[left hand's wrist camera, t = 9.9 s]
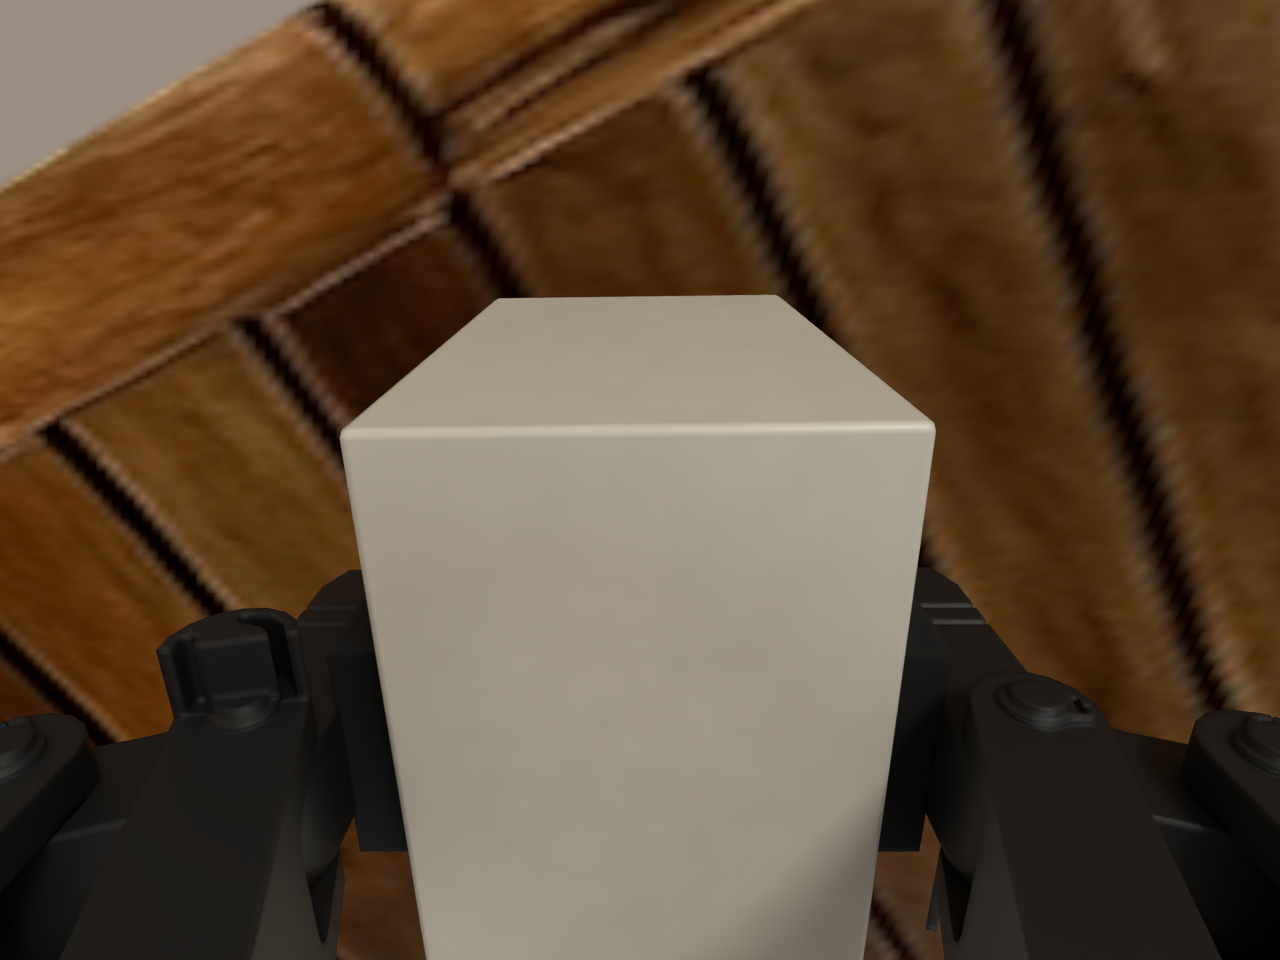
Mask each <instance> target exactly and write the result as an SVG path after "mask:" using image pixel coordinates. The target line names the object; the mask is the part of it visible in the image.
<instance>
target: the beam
mask: <svg viewBox="0 0 1280 960" xmlns="http://www.w3.org/2000/svg"><path fill="white" fill-rule="evenodd" d="M935 433H936V429H935V426H934V422H932V421H931V420H930V419H929V418H927V417H926V416H925V415H924V414H922V413H921V412H920V411H919V410H918V409H916V408H915V407H914V406H913V405H911V404H910V403H909V402H908V401H907V400H905V399H904V398H903V397H902V396H900V395H899V394H898V393H897V392H895V391H894V390H893V389H892V388H891V387H889V386H888V385H887V384H886V383H884V382H883V381H882V380H881V379H879V378H878V377H877V376H876V375H875V374H873V373H872V372H871V371H870V370H868V369H867V368H866V367H865V366H863V365H862V364H861V363H860V362H859V361H857V360H856V359H855V358H854V357H852V356H851V355H850V354H849V353H847V352H846V351H845V350H844V349H843V348H841V347H840V346H839V345H838V344H836V343H835V342H834V341H833V340H831V339H830V338H829V337H828V336H827V335H825V334H824V333H823V332H822V331H820V330H819V329H818V328H817V327H816V326H814V325H813V324H812V323H811V322H809V321H808V320H807V319H806V318H804V317H803V316H802V315H801V314H800V313H798V312H797V311H796V310H795V309H793V308H792V307H791V306H790V305H788V304H787V303H786V302H785V301H784V300H782V299H781V298H780V297H778V296H776V295H734V296H656V297H579V298H501V299H497V300H495V301H494V302H493V303H492V304H490V305H489V306H488V307H487V308H486V309H485V310H483V311H482V312H481V313H480V314H479V315H477V316H476V317H475V318H474V319H473V320H472V321H470V322H469V323H468V324H467V325H466V326H464V327H463V328H462V329H461V330H460V331H458V332H457V333H456V334H455V335H454V336H453V337H451V338H450V339H449V340H448V341H447V342H445V343H444V344H443V345H442V346H441V347H440V348H438V349H437V350H436V351H435V352H434V353H432V354H431V355H430V356H429V357H428V358H427V359H425V360H424V361H423V362H422V363H421V364H419V365H418V366H417V367H416V368H415V369H414V370H412V371H411V372H410V373H409V374H408V375H406V376H405V377H404V378H403V379H402V380H401V381H399V382H398V383H397V384H396V385H395V386H393V387H392V388H391V389H390V390H389V391H388V392H386V393H385V394H384V395H383V396H382V397H380V398H379V399H378V400H377V401H376V402H375V403H373V404H372V405H371V406H370V407H369V408H367V409H366V410H365V411H364V412H363V413H362V414H360V415H359V416H358V417H357V418H356V419H354V420H353V421H352V422H351V423H350V424H348V425H347V426H346V427H345V428H344V429H343V430H342V432H341V435H340V442H341V448H342V454H343V461H344V467H345V473H346V479H347V485H348V491H349V497H350V503H351V509H352V515H353V521H354V527H355V533H356V539H357V545H358V551H359V557H360V563H361V569H362V575H363V581H364V587H365V593H366V599H367V605H368V611H369V617H370V623H371V629H372V635H373V641H374V647H375V653H376V659H377V665H378V672H379V678H380V684H381V690H382V696H383V702H384V708H385V714H386V720H387V726H388V732H389V738H390V744H391V750H392V756H393V762H394V768H395V774H396V780H397V786H398V792H399V798H400V804H401V810H402V816H403V822H404V828H405V834H406V840H407V846H408V852H409V858H410V864H411V870H412V877H413V883H414V889H415V895H416V901H417V907H418V913H419V919H420V925H421V931H422V937H423V943H424V949H425V955H426V960H863V956H864V949H865V942H866V934H867V927H868V920H869V913H870V905H871V898H872V891H873V883H874V876H875V869H876V862H877V854H878V847H879V840H880V833H881V825H882V818H883V811H884V804H885V796H886V789H887V782H888V774H889V767H890V760H891V753H892V745H893V738H894V731H895V724H896V716H897V709H898V702H899V695H900V687H901V680H902V673H903V666H904V658H905V651H906V644H907V636H908V629H909V622H910V615H911V607H912V600H913V593H914V586H915V578H916V571H917V564H918V557H919V549H920V542H921V535H922V528H923V520H924V513H925V506H926V498H927V491H928V484H929V477H930V469H931V462H932V455H933V448H934V440H935Z"/></svg>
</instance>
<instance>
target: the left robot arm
mask: <svg viewBox="0 0 1280 960" xmlns="http://www.w3.org/2000/svg"><path fill="white" fill-rule="evenodd" d="M156 652H157V656H158V660H159V664H160V667H161V671H162V675H163V678H164V682H165V686H166V690H167V693H168V697H169V701H170V705H171V708H172V712H173V716H174V720H173V722H172V724H171V726H170V728H169V730H168V732H164V733H161V734H157V735H153V736H148V737H143V738H138V739H133V740H128V741H123V742H118V743H114V744H109V745H104V746H99V747H94V748H92V745H91V742H90V739H89V736H88V733H87V730H86V727H85V724H83V723H82V722H81V721H79V720H78V719H77V718H75V717H74V716H71V715H64V714H56V713H47V714H39V715H31V716H22V717H18V718H13V719H10V721H7V722H6V720H5V721H3V722H0V960H335V959H336V951H337V942H338V934H339V926H340V917H341V909H342V900H343V892H344V884H345V878H344V871H343V864H342V859H341V853H340V848H339V847H340V845H341V843H342V841H343V838H344V836H345V834H346V832H347V830H348V827H349V825H350V823H351V821H352V819H353V816H354V818H355V824H356V830H357V835H358V841H359V847H360V851H408V846H407V840H406V834H405V828H404V822H403V816H402V810H401V804H400V798H399V792H398V786H397V780H396V774H395V768H394V762H393V756H392V750H391V744H390V738H389V732H388V726H387V720H386V714H385V708H384V702H383V696H382V690H381V684H380V678H379V672H378V665H377V659H376V653H375V647H374V641H373V635H372V629H371V623H370V617H369V611H368V605H367V599H366V593H365V587H364V581H363V575H362V570H349V571H347V572H346V573H344V574H343V575H341V576H339V577H338V578H336V579H335V580H333V581H331V582H330V583H328V584H327V585H325V586H323V587H322V588H321V590H320V591H319V592H318V593H317V595H316V596H315V597H314V598H313V600H312V601H311V602H310V603H309V605H308V606H307V611H303V612H302V613H301V615H300V616H299V617H298V619H297V620H296V619H294V618H293V617H292V616H290V615H289V614H288V613H286V612H284V611H279V610H274V609H269V608H249V609H239V610H234V611H229V612H224V613H219V614H215V615H212V616H210V617H207V618H204V619H202V620H199V621H196V622H194V623H191V624H189V625H187V626H186V627H184V628H182V629H181V630H179V631H177V632H176V633H174V634H172V635H171V636H169V637H168V638H167V639H166V640H165V641H164V643H163V644H162V645H161V646H160V647H159V648H158V649H157V650H156ZM926 814H927V816H928V818H929V821H930V823H931V825H932V827H933V829H934V831H935V834H936V836H937V838H938V840H939V842H940V845H941V848H940V853H939V859H938V864H937V869H936V875H935V880H934V885H933V891H932V896H931V901H930V907H929V912H928V919H927V926H926V929H927V930H932V931H936V930H937V925H938V920H939V915H940V924H941V932H942V940H943V949H944V957H945V960H1280V718H1277V717H1274V718H1273V717H1271V716H1270V715H1266V714H1261V713H1256V712H1246V711H1238V710H1229V709H1227V710H1220V711H1212V712H1207V713H1205V714H1204V715H1203V716H1201V717H1200V718H1199V719H1198V720H1196V721H1195V724H1194V727H1193V731H1192V734H1191V737H1190V740H1189V743H1188V744H1183V743H1178V742H1173V741H1168V740H1163V739H1158V738H1153V737H1148V736H1143V735H1138V734H1133V733H1128V732H1124V731H1121V730H1117V729H1113V728H1111V727H1110V725H1109V723H1108V721H1107V719H1106V717H1105V716H1104V714H1103V713H1102V712H1101V711H1100V709H1099V708H1098V707H1097V706H1096V704H1095V703H1094V702H1093V701H1092V700H1090V699H1089V698H1087V697H1086V696H1085V695H1083V694H1082V693H1080V692H1079V691H1077V690H1076V689H1075V688H1073V687H1070V686H1068V685H1066V684H1064V683H1061V682H1059V681H1057V680H1054V679H1052V678H1050V677H1046V676H1042V675H1037V674H1033V673H1029V672H1027V671H1026V670H1025V668H1024V667H1023V666H1022V665H1021V663H1020V662H1019V661H1018V660H1017V658H1016V657H1015V656H1014V655H1013V653H1012V652H1011V651H1010V650H1009V648H1008V647H1007V646H1006V645H1005V644H1004V642H1003V641H1002V640H1001V639H1000V637H999V636H998V635H997V634H996V632H995V631H994V630H993V629H992V627H991V626H990V625H989V624H986V620H985V619H984V617H983V616H982V615H981V614H980V612H979V611H978V610H977V609H976V608H973V604H972V602H971V601H970V600H969V599H968V597H967V596H966V595H965V594H964V592H963V591H962V590H961V589H960V587H959V586H958V585H957V584H956V583H954V582H952V581H951V580H949V579H948V578H946V577H944V576H943V575H941V574H939V573H938V572H936V571H935V570H933V569H931V568H917V571H916V578H915V586H914V593H913V600H912V607H911V615H910V622H909V629H908V636H907V644H906V651H905V658H904V666H903V673H902V680H901V687H900V695H899V702H898V709H897V716H896V724H895V731H894V738H893V745H892V753H891V760H890V767H889V774H888V782H887V789H886V796H885V804H884V811H883V818H882V825H881V833H880V840H879V847H878V851H919V849H920V843H921V838H922V832H923V826H924V821H925V815H926Z"/></svg>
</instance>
